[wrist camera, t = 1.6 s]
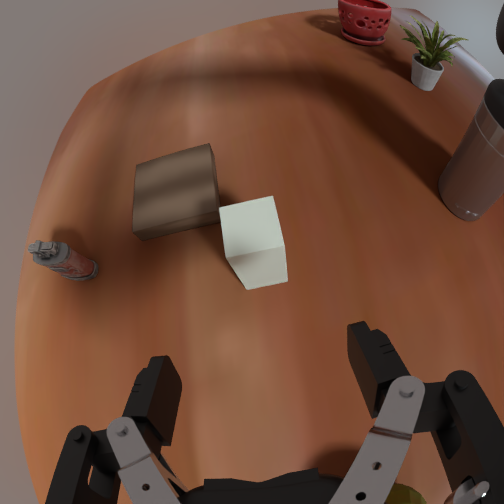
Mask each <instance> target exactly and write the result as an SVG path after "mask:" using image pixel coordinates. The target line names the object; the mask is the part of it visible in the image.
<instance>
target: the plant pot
mask: <svg viewBox="0 0 504 504" xmlns="http://www.w3.org/2000/svg"><path fill="white" fill-rule="evenodd" d="M356 4H358V5H356ZM364 6H367V7H364ZM338 11H339V17H340V21H341V24H342V26H343V28H342V29H341V33H342V35H343V36H344V37H345V38H347V39H348V40H350V41H352V42H355V43H358V44H361V45H368V46H376V45H380V44H382V43H384V41H385V37H384V33H385V32H386V31H387V29H388V26H389V23H390V18H391V7H390V6H389V5H387V4H386V3H384V2H381V1H378V0H338ZM349 13H352V14H349Z"/></svg>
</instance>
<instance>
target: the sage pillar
mask: <svg viewBox="0 0 504 504" xmlns="http://www.w3.org/2000/svg"><path fill="white" fill-rule="evenodd" d="M219 211H220V218H221V226H222V233H223V241H224V248H225V255H226V259H227V260H228V262H229V264H230V265H231V267H232V268H233V270H234V271H235V273H236V274H237V276H238V277H239V279H240V280H241V282H242V283H243V285H244V286H245V288H246V289H247V290H248V289H253V288H258V287H263V286H268V285H273V284H278V283H283V282H288V276H287V265H286V255H285V245H284V241H283V237H282V232H281V228H280V224H279V220H278V215H277V211H276V207H275V203H274V199H273V196H270V197H265V198H261V199H256V200H251V201H247V202H242V203H238V204H233V205H229V206H224V207H220V208H219Z"/></svg>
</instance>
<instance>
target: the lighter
mask: <svg viewBox="0 0 504 504" xmlns="http://www.w3.org/2000/svg"><path fill="white" fill-rule="evenodd" d="M28 252H30V253H32V254H33V261H34V262H36V263H37V264H40V265H43V266H46V267H48V268H49V269H51V270H53V271H56V272H58V273H60V274H61V275H62V276H63V277H65V278H68V279H71V280H77V281H79V280H88V279H92V278H94V277H95V276H96V275H97V273H98V264H97V263H96V262H94V261H93V260H89V259H87V258H85V257H84V256H82V255H80V254H79V253H77V252H75V251H74V250H72V249H71V248H70V246H68V245H67V244H65V243H62V242H42V241H36V242H35V243H34V244H30V245H29V247H28Z"/></svg>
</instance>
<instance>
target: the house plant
mask: <svg viewBox="0 0 504 504" xmlns="http://www.w3.org/2000/svg"><path fill="white" fill-rule="evenodd" d="M411 17H412V16H411ZM412 18H413V19H415V18H414V17H412ZM415 20H416V19H415ZM416 21H417V22H418V23H417V24H418V25H419V26H420V28H421V30H422V33H423V32H424V33H423V37H424V40H425V44H426V47H425V49H426V51H425V49H424V47H423V46H422V44H421V43H420V41H419V40H418V39H417V38H416V37H415V36H414V35H413V34H412V33H411V32H410V31H409V30H407V29H406V28H405V27H403V26H401V25H400V26H401V28H403V29H404V30H405V32H406V33H407V35H408V36H409V37H410V38H403V39H401V40H407V41H410V42H412V43H414V44H415V45H416V47H415V48H417V49H418V50H419V52H420V53H415V54H413V56H412V75H411V81H412V83H413V84H414V85H415V86H417V87H418V88H420V89H422V90H426V91H430V90H432V89H433V88H434V86H435V84H436V82H437V81H438V79H439V77H440V76H441V74H442V72H443V70H444V68H443V66H442V64H441V63H440V62H439V61H442V60H446V61H448V60H452V59H451V58H450V57H448V56H453V55H452V54H451V53H450V52H448V51H447V50H446V51H443V50H444V49H446V48H448V47H450V45H452V44H454V43H455V42H458V41H459V40H467V39H464V38H453V39H451V40H449V41H448V42H447V43H446V44H445V45H444V46H442V47H440V48H439V46H440V43H441V42H442V41H443V40H444V39H445V38H446V37H448V36H453V35H447V36H445V37H444V38H443V35H444V30H443V31H442V33H441V35H440V37H439V39H438V34H439V25H438V21H437V22H436V24H435V27H434V29H433V33H432V38H431V34H430V32H429V30H428V28H427V26H426V25H425V26H426V28H427V30H428V33H429V37H430V39H429V37H428V34H427V32H426V30H425V28H424V26H423V25H422V24H421V23H420V22H419V21H418V20H416ZM406 22H407V21H406ZM414 22H415V21H414ZM422 22H423V21H422ZM408 23H409V22H408ZM423 23H424V22H423ZM409 24H410V23H409ZM424 24H425V23H424ZM410 25H411V24H410ZM412 26H413V25H412ZM413 27H414V26H413ZM415 30H416V29H415ZM416 31H417V30H416ZM417 32H418V31H417ZM418 34H419V33H418ZM419 35H420V34H419ZM424 35H425V36H424ZM454 36H455V35H454ZM420 37H421V36H420ZM442 38H443V39H442ZM421 39H422V38H421ZM437 40H438V43H437ZM422 41H423V40H422ZM423 44H424V43H423ZM436 44H437V46H436ZM424 46H425V45H424ZM435 46H436V48H435ZM460 46H461V45H460ZM455 47H457V46H455ZM453 48H454V47H453ZM434 49H435V50H434ZM450 49H452V48H450ZM448 50H449V49H448ZM442 51H443V52H442ZM433 53H434V54H433ZM454 57H455V56H454ZM448 62H450V61H448ZM450 64H451V65H453V64H452V62H450Z"/></svg>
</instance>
